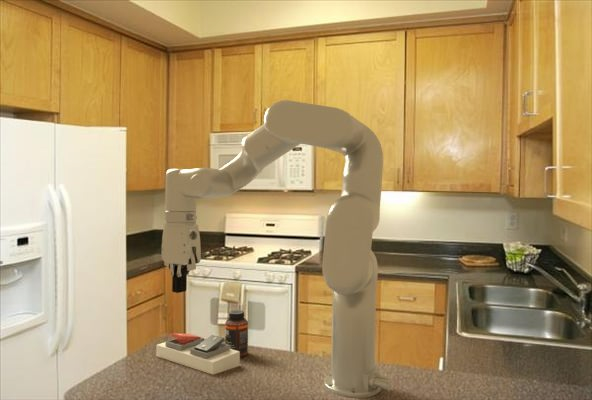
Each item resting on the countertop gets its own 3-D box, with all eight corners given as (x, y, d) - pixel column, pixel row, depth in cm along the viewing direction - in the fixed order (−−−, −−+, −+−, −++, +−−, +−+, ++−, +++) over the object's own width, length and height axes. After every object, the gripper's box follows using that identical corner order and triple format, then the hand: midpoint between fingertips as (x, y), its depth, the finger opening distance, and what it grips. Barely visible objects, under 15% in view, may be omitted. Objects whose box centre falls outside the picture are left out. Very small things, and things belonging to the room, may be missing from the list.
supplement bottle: (251, 351, 123) (251, 309, 123) (242, 359, 118) (243, 315, 117) (230, 349, 125) (231, 308, 125) (221, 357, 119) (221, 313, 119)
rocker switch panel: (239, 367, 112) (239, 346, 112) (212, 379, 105) (212, 357, 105) (183, 350, 124) (184, 331, 123) (156, 360, 116) (156, 340, 116)
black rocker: (225, 345, 113) (223, 337, 112) (208, 358, 108) (206, 350, 108) (213, 342, 115) (212, 334, 115) (196, 355, 110) (194, 346, 110)
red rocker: (198, 345, 118) (200, 336, 118) (180, 344, 113) (182, 335, 113) (187, 342, 120) (189, 333, 120) (169, 341, 115) (171, 332, 116)
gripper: (212, 219, 113) (211, 293, 114) (173, 216, 122) (172, 285, 123) (189, 220, 107) (187, 299, 108) (149, 217, 116) (148, 289, 116)
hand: (179, 291), depth 115 cm, fingers closed
